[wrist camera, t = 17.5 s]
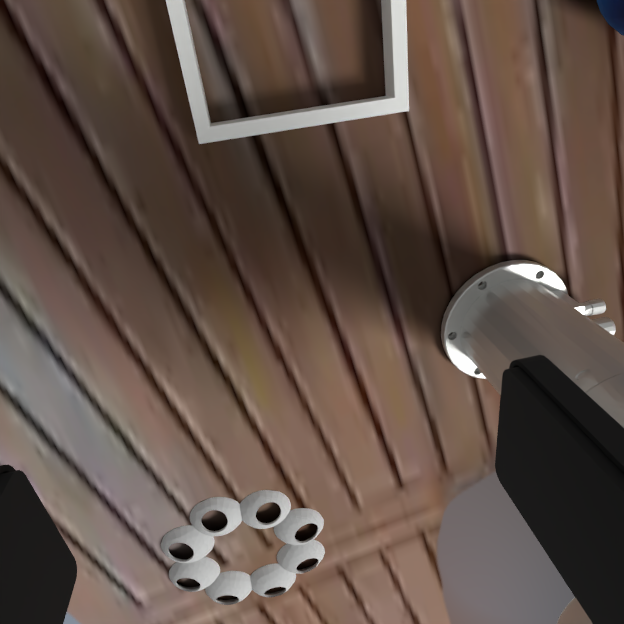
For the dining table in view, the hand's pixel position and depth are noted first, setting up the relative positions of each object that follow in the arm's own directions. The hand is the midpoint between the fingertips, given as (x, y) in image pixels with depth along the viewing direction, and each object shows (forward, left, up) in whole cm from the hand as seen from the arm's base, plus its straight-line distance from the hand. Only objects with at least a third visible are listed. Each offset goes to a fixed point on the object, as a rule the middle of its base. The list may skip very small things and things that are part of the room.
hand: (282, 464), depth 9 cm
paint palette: (+8, +43, -31) cm, 54 cm away
